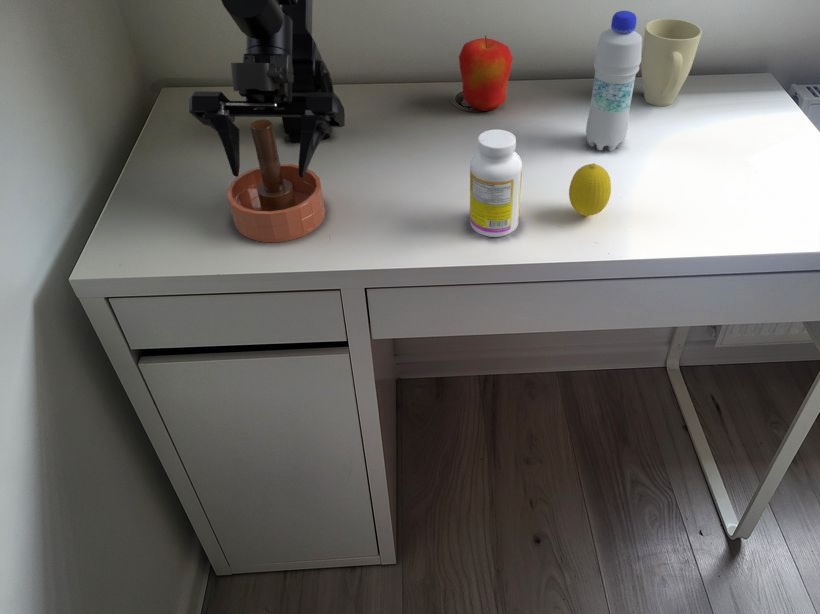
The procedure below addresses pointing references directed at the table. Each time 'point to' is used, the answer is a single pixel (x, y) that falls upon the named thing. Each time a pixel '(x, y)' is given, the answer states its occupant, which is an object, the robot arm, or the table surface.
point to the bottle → (614, 82)
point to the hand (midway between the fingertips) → (268, 176)
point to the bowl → (282, 221)
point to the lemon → (590, 189)
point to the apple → (485, 72)
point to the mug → (667, 58)
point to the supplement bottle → (495, 184)
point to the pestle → (270, 170)
